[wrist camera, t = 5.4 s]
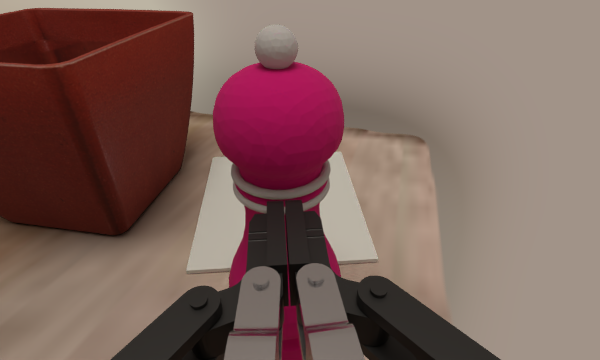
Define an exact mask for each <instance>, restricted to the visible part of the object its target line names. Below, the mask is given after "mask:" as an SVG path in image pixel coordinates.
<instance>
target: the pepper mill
mask: <svg viewBox="0 0 600 360" xmlns="http://www.w3.org/2000/svg"><path fill="white" fill-rule="evenodd" d="M297 52H298V43H297V40H296V38H295V36H294V35H293V33H292V32H291V31H290V30H289V29H288V28H286V27H284V26H281V25H270V26H267V27H266V28H264V29H263V30H261V31H260V33H259V34H258V36H257V38H256V40H255V53H256V56H257V58H258V60H259V62H260V63H257V64H253V65H250V66H247V67H245V68H243V69H242V70H240V71H239V72H237V73H235V74H234V75H232V76H231V77H230V78H229V79H228V80H227V81H226V82H225V84H224V85H223V86H222V88H221V90H220V91H219V93H218V95H217V98H216V101H215V106H214V110H213V128H214V134H215V138H216V141H217V144H218V146H219V148H220V150H221V151H222V153H223V155H224V156H225V157H226V158H227V159H228V160H229V161H231V162H232V163H233V164H232V167H231V177H232V179H233V191H234V194H235V196H236V198H237V199H238V200H239V201H240V202H241V203H242V204H243V205H244V207H245V229H244V234H243V238H242V240H241V243H240V245H239V247H238V249H237V252H236V254H235V256H234V258H233V261H232V265H231V270H230V275H229V288H230V287H232V286H234V285H236V284H237V283H239V282H240V281H241V280H242V278H243V276H244V275H245V273H246V265H247V250H248V234H249V222H250V221H251V219H252V217H253V216H254V214H265V213H267V201H284V216H285V200H302V204H303V211H315V212H316V213H317V214H318V216H319V217H320V208H319V206H320V202H321V201H322V200H323V199H324V198H325V196H326V195H327V193H328V191H329V188H330V180H329V175H330V172H331V168H330V163H329V161H328V159H329V158H331V156H332V155H333V154H334V152H335V151H336V150H337V149H338V147H339V145H340V142H341V140H342V136H343V130H344V113H343V108H342V102H341V99H340V96H339V94H338V92H337V90H336V88H335V87H334V85H333V84H332V82H331V81H330V80H329V79H327V78H326V77H325V76H324V75H323V74H322V73H320V72H319V71H318V70H316V69H314V68H312V67H309V66H307V65H304V64H301V63H297V62H294V60H295V58H296V56H297ZM285 233H286V217H285ZM324 237H325V242H326V247H327V252H328V258H329V263H330V266H331V268H332V270H333V271H334V272H335V273H336V274H337V275H338V276H340V277H341V275H340V269H339V265H338V262H337V258H336V255H335V253H334V251H333V249H332V247H331V245H330V243H329V241H328V240H327V238H326V236H325V234H324ZM286 249H287V241H286ZM287 266H288V257H287ZM288 296H289V306H285V307H284V323H283V339H282V360H302V354H301V347H300V341H299V335H298V329H297V312H296V306H291V304H290V289H289V273H288Z"/></svg>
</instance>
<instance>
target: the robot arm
mask: <svg viewBox="0 0 600 360" xmlns="http://www.w3.org/2000/svg"><path fill="white" fill-rule="evenodd" d="M285 217H286V233H285ZM286 241H287V249H286ZM287 257H288V266H287ZM288 273H289V289H290V304H291V306H296V312H297V329H298V335H299V341H300V347H301V354H302V360H365V359H364V356H363V354H364V355H365V356H366V357H367V358H368V359H369V360H500V359H499V358H498V357H496V356H495V355H493V354H492V353H491V352H489V351H488V350H486V349H485V348H484V347H482V346H481V345H479V344H478V343H477V342H475V341H474V340H472V339H471V338H469V337H468V336H467V335H465V334H464V333H463V332H461V331H460V330H458V329H457V328H456V327H454V326H453V325H451V324H450V323H449V322H447V321H446V320H444V319H443V318H442V317H440V316H439V315H437V314H436V313H435V312H433V311H432V310H431V309H429V308H428V307H426V306H425V305H424V304H422V303H421V302H419V301H418V300H417V299H415V298H414V297H412V296H411V295H410V294H408V293H407V292H405V291H404V290H403V289H401V288H400V287H398V286H397V285H396V284H394V283H393V282H391V281H390V280H388V279H387V278H384V277H381V276H369V277H366V278H364V279H363V280H362V281H361V282H360V283H359V282H354V281H350V280H346V279H343V278H341V277H340V276H338V275H337V274H336V273H335V272H334V271H333V270H332V268H331V266H330V263H329V258H328V252H327V247H326V242H325V237H324V231H323V226H322V221H321V218H320V217H319V216H318V214H317V213H316V212H315V211H303V204H302V200H285V216H284V201H267V213H265V214H254V216H253V217H252V219H251V221H250V222H249V234H248V250H247V265H246V273H245V275H244V276H243V278H242V280H241V281H240V282H239V283H237V284H236V285H234V286H232V287H230V288H228V289H225V290H222V291H219V292H217V290H215V289H214V288H212V287H209V286H198V287H194V288H192V289H190V290H188V291H187V292H186V293H185V294H183V295H182V296H181V297H180V298H179V299H178V300H177V301H176V302H174V303H173V304H172V305H171V306H170V307H169V308H168V309H167V310H166V311H164V312H163V313H162V314H161V315H160V316H159V317H158V318H157V319H155V320H154V321H153V322H152V323H151V324H150V325H149V326H148V327H147V328H145V329H144V330H143V331H142V332H141V333H140V334H139V335H138V336H136V337H135V338H134V339H133V340H132V341H131V342H130V343H129V344H128V345H126V346H125V347H124V348H123V349H122V350H121V351H120V352H119V353H117V354H116V355H115V356H114V357H113V358H112V359H111V360H282V339H283V323H284V307H285V306H289V296H288Z"/></svg>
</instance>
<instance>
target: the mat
mask: <svg viewBox="0 0 600 360" xmlns="http://www.w3.org/2000/svg"><path fill="white" fill-rule="evenodd" d="M328 161H329V163H330V168H331V172H330V175H329V180H330V188H329V191H328V193H327V195H326V196H325V198H324V199H323V200H322V201H321V202H320V206H319V208H320V218H321V221H322V226H323V231H324V234H325V236H326V238H327V240H328V241H329V243H330V245H331V247H332V249H333V251H334V253H335V255H336V258H337V262H338V264H353V263H369V262H378V256H377V254H376V251H375V248H374V245H373V242H372V239H371V236H370V233H369V231H368V228H367V225H366V222H365V219H364V216H363V213H362V210H361V208H360V205H359V202H358V199H357V196H356V193H355V190H354V187H353V185H352V182H351V179H350V176H349V173H348V170H347V167H346V164H345V162H344V159H343V156H342V153H341V152H334V154H333V155H332V156H331V158H329V159H328ZM232 164H233V163H232V162H231V161H229V160H228V159H227V158H226V157H213V160H212V164H211V168H210V172H209V177H208V181H207V185H206V189H205V193H204V198H203V202H202V206H201V210H200V214H199V219H198V223H197V227H196V231H195V236H194V240H193V244H192V248H191V252H190V257H189V261H188V265H187V269H186V272H187V274H194V273H210V272H226V271H230V270H231V265H232V261H233V258H234V256H235V254H236V252H237V249H238V247H239V245H240V243H241V240H242V238H243V234H244V229H245V207H244V205H243V204H242V203H241V202H240V201H239V200H238V199H237V198H236V196H235V194H234V191H233V179H232V177H231V167H232Z"/></svg>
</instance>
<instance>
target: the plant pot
mask: <svg viewBox="0 0 600 360" xmlns="http://www.w3.org/2000/svg"><path fill="white" fill-rule="evenodd" d="M193 67H194V24H193V13H191V12H182V11H155V10H154V11H153V10H122V9H119V10H118V9H64V8H63V9H62V8H34V9H24V10H19V11H14V12H9V13H4V14H0V216H2V217H3V218H5V219H7V220H8V221H11V222H16V223H24V224H32V225H40V226H47V227H55V228H62V229H70V230H78V231H86V232H93V233H100V234H108V235H118V234H121V233H123V232H125V231H127V230H128V229H129V228H130V227H131V226H132V224H133V223H134V222H135V221H136V220H137V219H138V217H139V216H140V215H141V214H142V213H143V212H144V210H145V209H146V208H147V207H148V206H149V205H150V203H151V202H152V201H153V200H154V199H155V198H156V197H157V195H158V194H159V193H160V192H161V191H162V190H163V189H164V187H165V186H166V185H167V184H168V183H169V181H170V180H171V179H172V178H173V177H174V176H175V174H176V173H177V172H178V171H179V170H180V168H181V165H182V161H183V156H184V152H185V146H186V140H187V133H188V126H189V119H190V109H191V100H192V86H193Z"/></svg>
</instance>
